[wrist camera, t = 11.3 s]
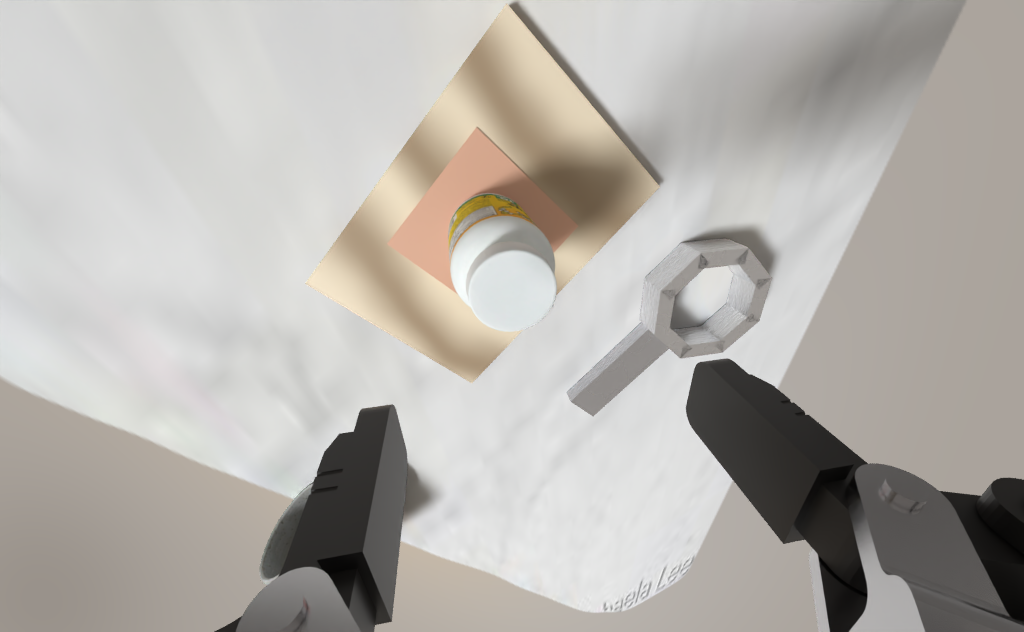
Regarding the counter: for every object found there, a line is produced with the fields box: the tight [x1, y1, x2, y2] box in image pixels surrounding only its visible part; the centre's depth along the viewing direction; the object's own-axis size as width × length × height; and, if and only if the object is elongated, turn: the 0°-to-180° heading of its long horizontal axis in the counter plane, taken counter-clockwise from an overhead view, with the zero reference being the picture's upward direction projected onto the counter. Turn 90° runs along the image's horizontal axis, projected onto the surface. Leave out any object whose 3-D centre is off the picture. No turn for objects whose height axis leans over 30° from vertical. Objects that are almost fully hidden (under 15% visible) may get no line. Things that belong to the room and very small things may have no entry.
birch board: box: [305, 4, 660, 383], centre depth 25 cm, size 20×14×1 cm
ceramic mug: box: [259, 483, 406, 585], centre depth 32 cm, size 11×8×8 cm
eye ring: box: [567, 238, 772, 416], centre depth 31 cm, size 18×9×2 cm, turn 138°
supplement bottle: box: [448, 193, 557, 332], centre depth 21 cm, size 5×5×10 cm
